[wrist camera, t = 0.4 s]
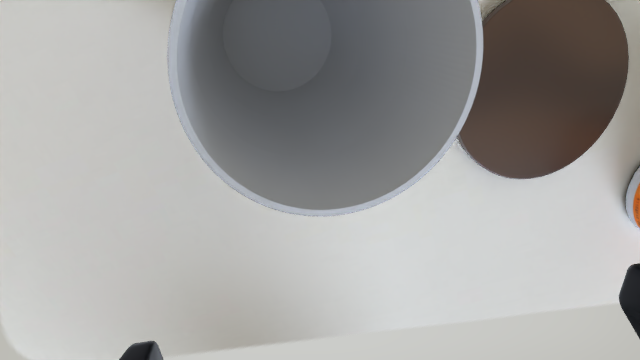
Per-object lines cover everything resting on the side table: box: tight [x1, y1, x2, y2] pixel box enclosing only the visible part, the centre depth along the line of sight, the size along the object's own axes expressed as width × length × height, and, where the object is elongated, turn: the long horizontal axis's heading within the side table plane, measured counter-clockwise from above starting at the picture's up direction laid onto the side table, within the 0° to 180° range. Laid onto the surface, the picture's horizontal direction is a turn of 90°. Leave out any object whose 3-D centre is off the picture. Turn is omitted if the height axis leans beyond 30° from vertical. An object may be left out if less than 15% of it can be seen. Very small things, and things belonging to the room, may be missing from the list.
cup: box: [168, 0, 483, 216], centre depth 16 cm, size 8×8×10 cm
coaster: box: [457, 0, 629, 179], centre depth 25 cm, size 10×10×1 cm
